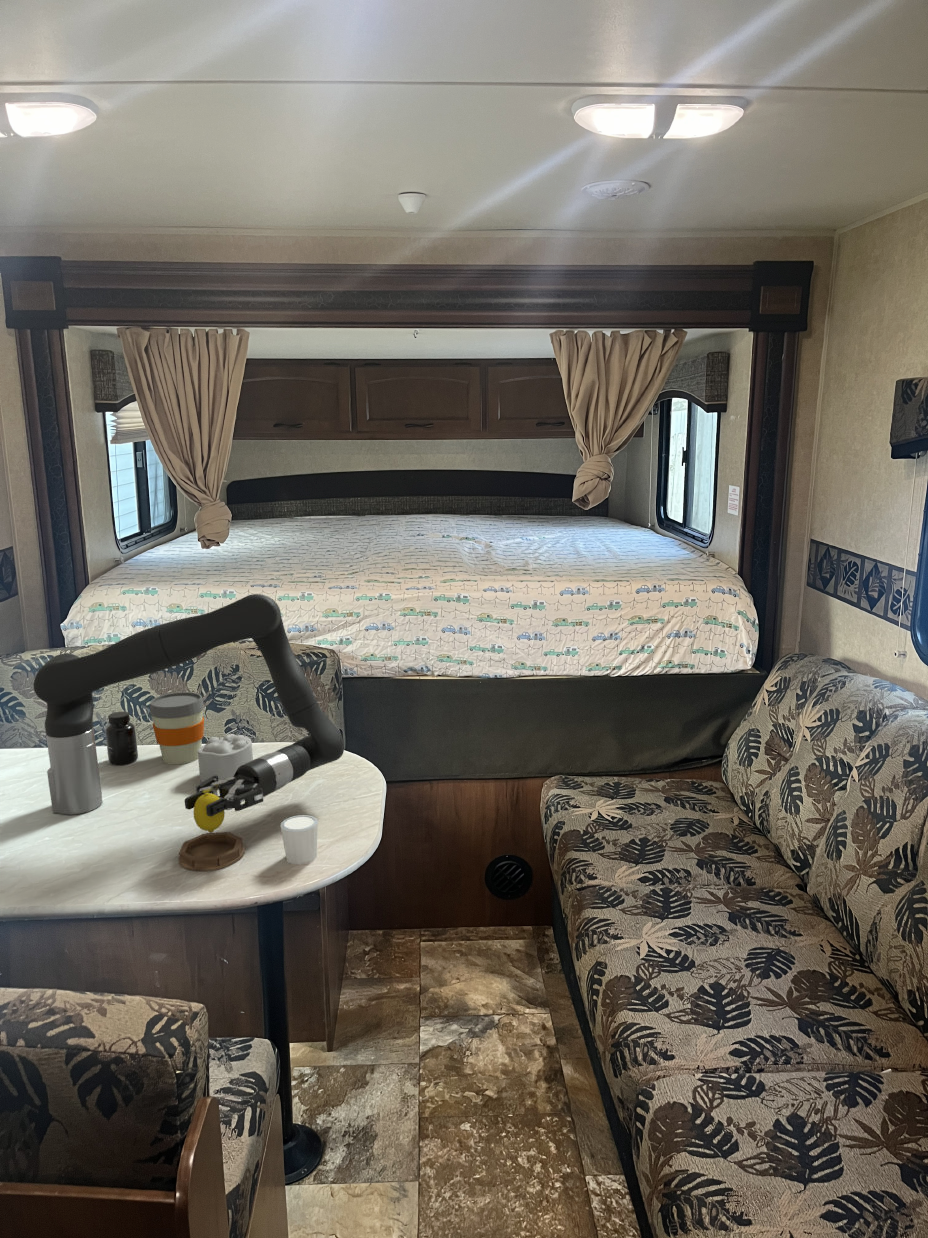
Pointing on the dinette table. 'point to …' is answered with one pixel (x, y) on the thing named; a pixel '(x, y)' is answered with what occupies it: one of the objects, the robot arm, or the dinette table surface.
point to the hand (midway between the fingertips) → (197, 808)
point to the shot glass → (300, 838)
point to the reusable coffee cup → (178, 725)
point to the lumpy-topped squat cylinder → (224, 756)
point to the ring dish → (211, 851)
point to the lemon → (201, 813)
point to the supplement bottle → (121, 739)
